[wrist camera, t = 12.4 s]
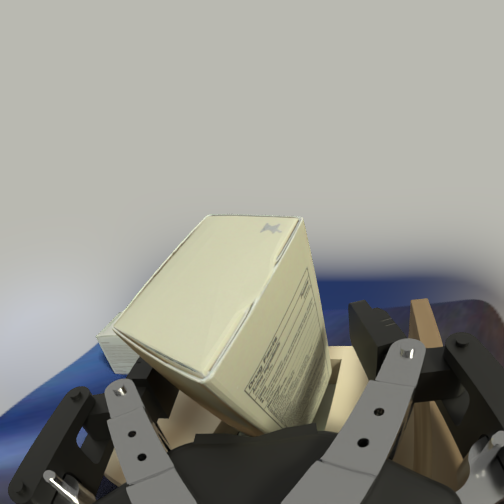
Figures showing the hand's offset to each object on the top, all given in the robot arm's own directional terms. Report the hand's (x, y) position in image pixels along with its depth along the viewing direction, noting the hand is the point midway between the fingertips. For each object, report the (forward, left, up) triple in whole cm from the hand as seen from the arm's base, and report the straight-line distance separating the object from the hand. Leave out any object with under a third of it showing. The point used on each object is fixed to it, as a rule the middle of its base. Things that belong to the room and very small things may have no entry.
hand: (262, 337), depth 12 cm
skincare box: (-1, +2, -7) cm, 7 cm away
